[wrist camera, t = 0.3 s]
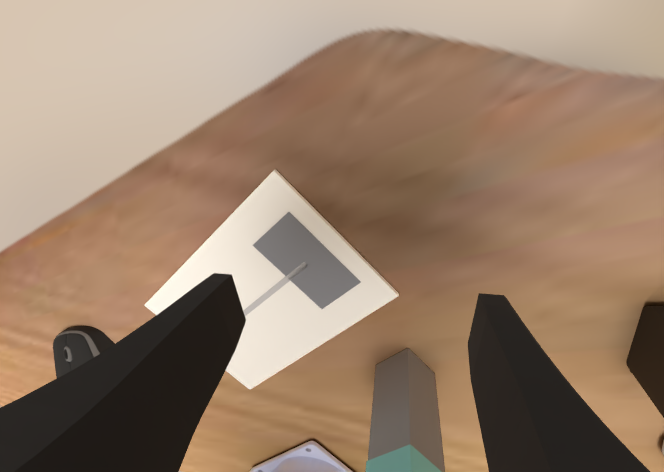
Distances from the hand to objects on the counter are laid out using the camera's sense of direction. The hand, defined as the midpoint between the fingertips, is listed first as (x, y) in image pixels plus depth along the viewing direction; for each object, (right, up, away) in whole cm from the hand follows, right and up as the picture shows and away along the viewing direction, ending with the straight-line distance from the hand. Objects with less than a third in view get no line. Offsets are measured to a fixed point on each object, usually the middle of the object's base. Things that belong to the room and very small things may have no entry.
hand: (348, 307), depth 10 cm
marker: (+5, -8, +15) cm, 17 cm away
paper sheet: (-6, -2, +14) cm, 16 cm away
